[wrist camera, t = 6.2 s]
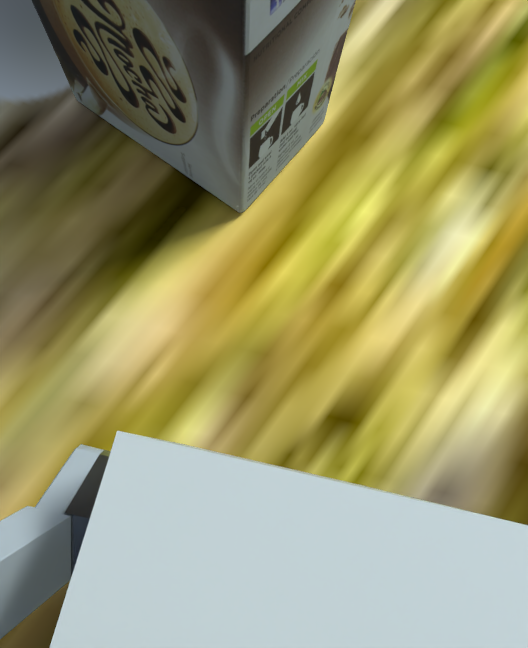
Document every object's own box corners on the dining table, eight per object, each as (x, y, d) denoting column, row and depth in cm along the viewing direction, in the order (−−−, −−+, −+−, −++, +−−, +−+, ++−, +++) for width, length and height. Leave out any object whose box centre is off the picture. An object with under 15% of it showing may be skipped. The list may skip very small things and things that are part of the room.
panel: (159, 540, 14) (37, 686, 5) (184, 444, 15) (117, 430, 6) (344, 583, 14) (532, 798, 5) (358, 484, 15) (539, 528, 6)
